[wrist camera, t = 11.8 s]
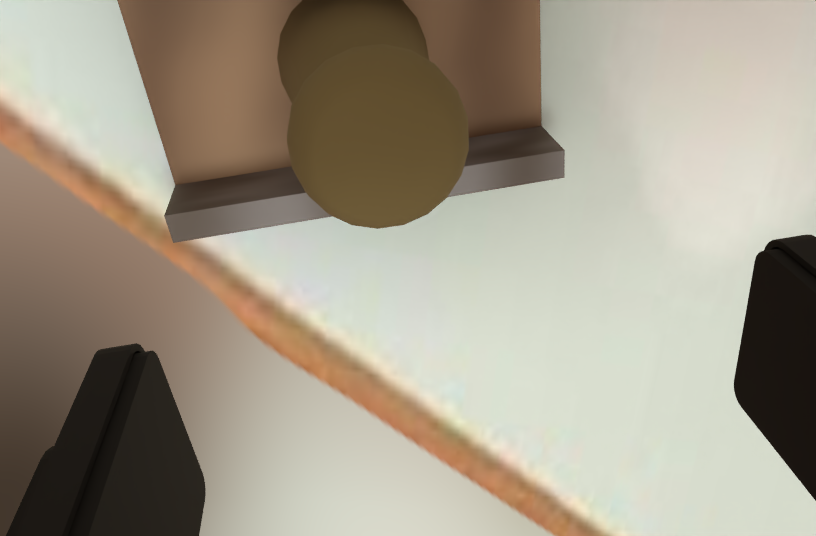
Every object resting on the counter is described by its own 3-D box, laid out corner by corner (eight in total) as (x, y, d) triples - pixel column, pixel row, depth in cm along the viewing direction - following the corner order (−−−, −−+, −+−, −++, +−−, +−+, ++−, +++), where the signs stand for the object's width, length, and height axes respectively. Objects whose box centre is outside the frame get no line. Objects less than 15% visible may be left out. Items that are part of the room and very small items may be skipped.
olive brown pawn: (334, 159, 30) (355, 296, 20) (245, 39, 27) (220, 134, 17) (454, 80, 29) (533, 185, 19) (374, -54, 26) (423, -7, 16)
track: (530, -121, 26) (566, -119, 23) (535, 149, 32) (564, 184, 28) (105, -63, 25) (75, -52, 22) (188, 206, 31) (175, 249, 27)
